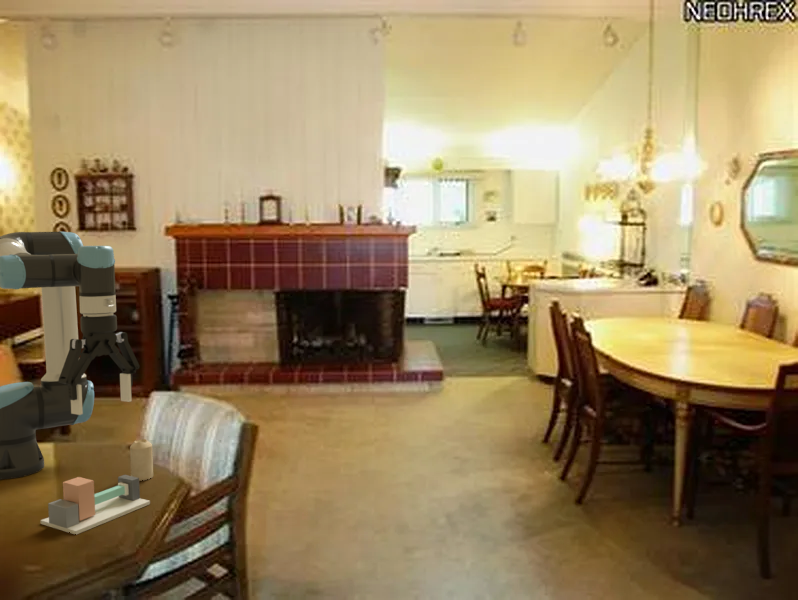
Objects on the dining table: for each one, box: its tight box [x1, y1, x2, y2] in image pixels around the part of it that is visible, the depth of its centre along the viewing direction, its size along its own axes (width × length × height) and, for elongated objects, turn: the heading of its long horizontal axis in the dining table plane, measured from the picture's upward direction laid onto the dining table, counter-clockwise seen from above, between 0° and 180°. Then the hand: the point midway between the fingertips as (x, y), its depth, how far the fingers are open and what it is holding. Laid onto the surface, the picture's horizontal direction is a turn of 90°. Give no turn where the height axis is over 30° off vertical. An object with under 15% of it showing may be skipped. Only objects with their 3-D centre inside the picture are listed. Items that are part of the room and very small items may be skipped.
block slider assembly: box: [40, 474, 151, 535], centre depth 165 cm, size 12×20×6 cm, turn 150°
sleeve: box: [62, 476, 95, 521], centre depth 161 cm, size 5×4×8 cm
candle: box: [129, 438, 154, 482], centre depth 190 cm, size 6×6×10 cm
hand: (102, 407), depth 164 cm, fingers open, 13 cm apart
